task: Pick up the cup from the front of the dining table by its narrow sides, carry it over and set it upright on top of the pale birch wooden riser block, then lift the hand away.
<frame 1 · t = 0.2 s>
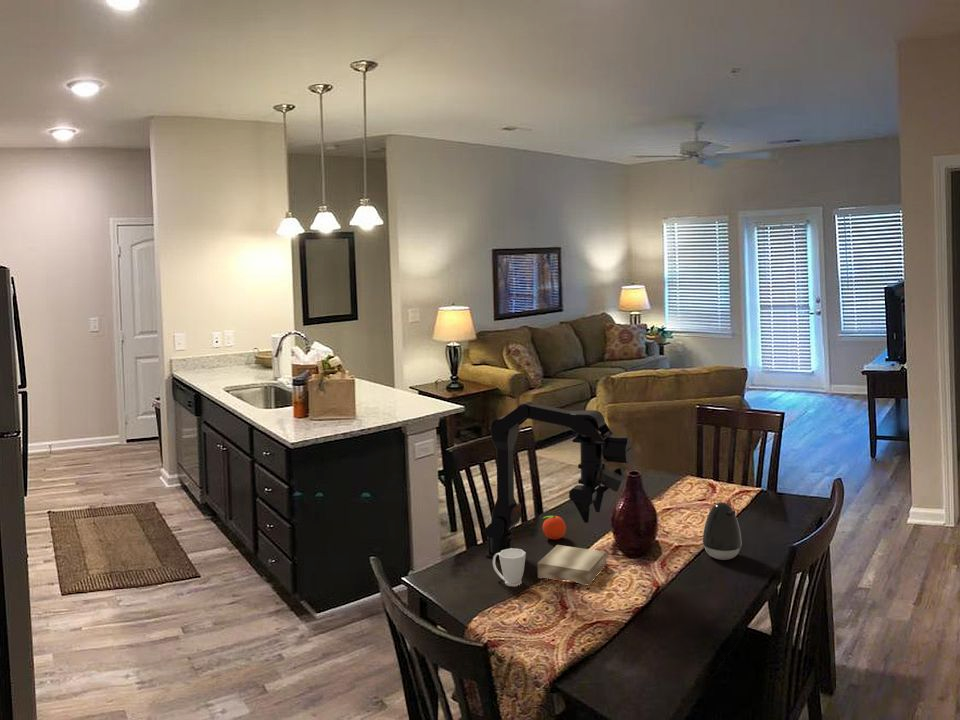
hand: (592, 517, 209), 14 cm above the table, tool pointing down, fingers open, 9 cm apart
cup: (508, 582, 205), on the table
clementine: (552, 539, 235), on the table
grey egg-shaped figure: (722, 557, 217), on the table
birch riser: (572, 571, 210), on the table
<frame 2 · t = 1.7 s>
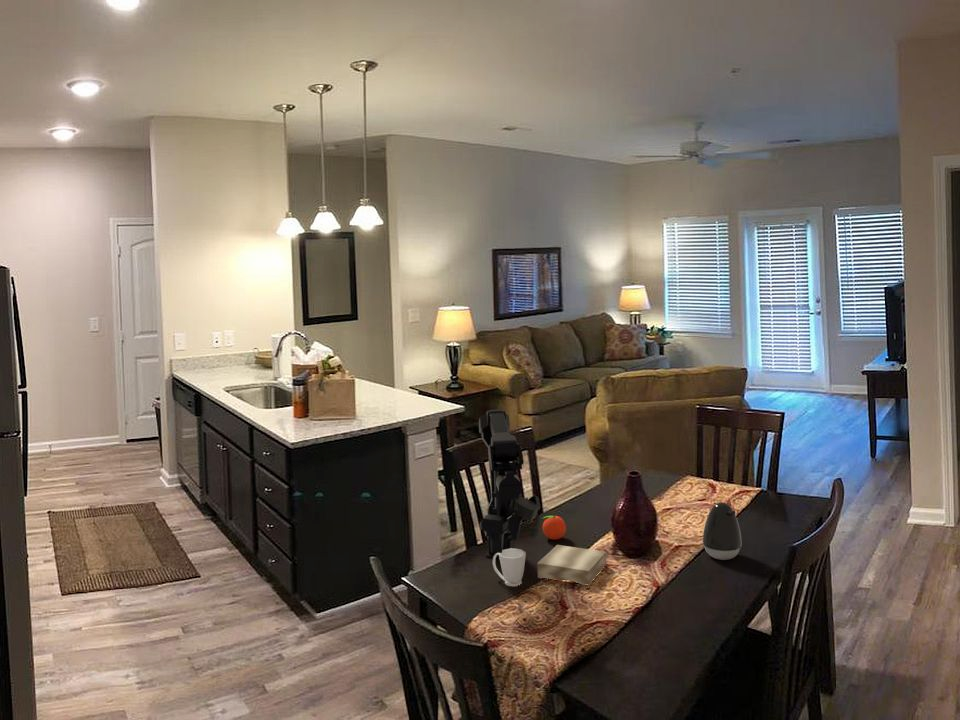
hand: (507, 546, 204), 9 cm above the table, tool pointing down, fingers open, 9 cm apart
nothing on the table moved.
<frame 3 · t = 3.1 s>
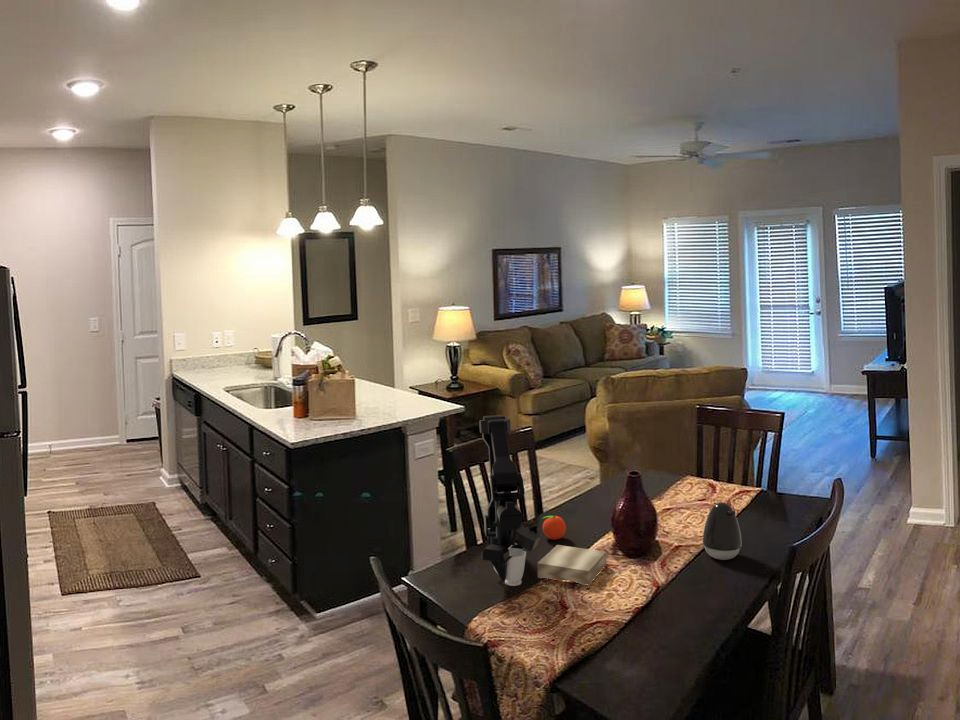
hand: (508, 575, 205), 2 cm above the table, tool pointing down, fingers closed on cup, 6 cm apart
cup: (508, 582, 205), on the table, touching gripper
everything else where it was.
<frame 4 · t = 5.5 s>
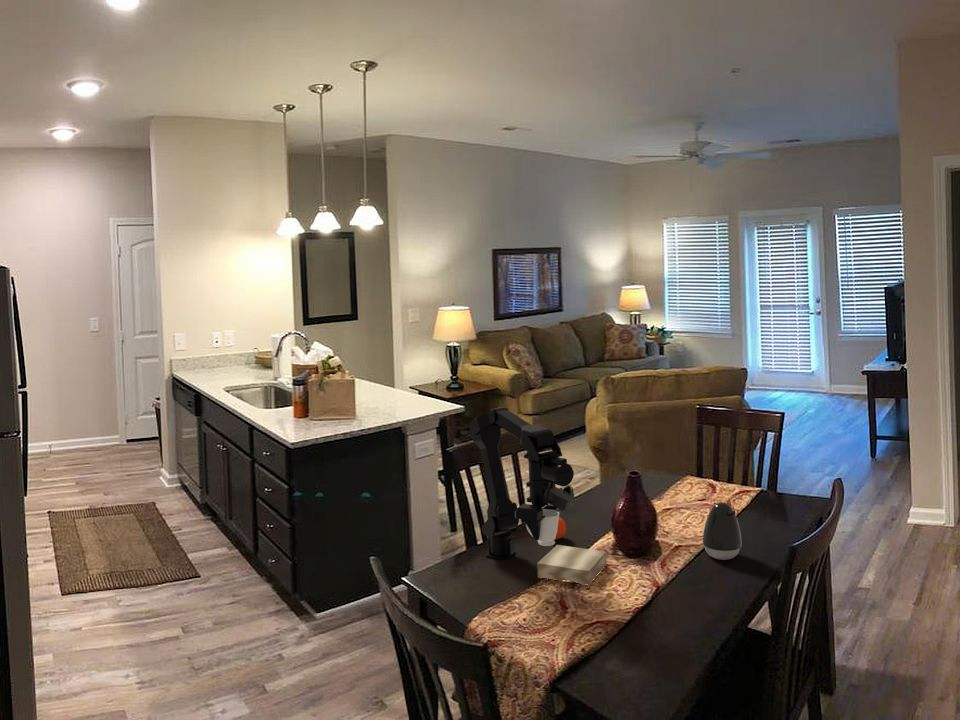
hand: (541, 536, 206), 11 cm above the table, tool pointing down, fingers closed on cup, 6 cm apart
cup: (542, 542, 207), point 9 cm above the table, touching gripper
everything else where it was.
when the fingers open (7 cm above the table, at t = 7.5 s): cup drops 2 cm, resting on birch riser.
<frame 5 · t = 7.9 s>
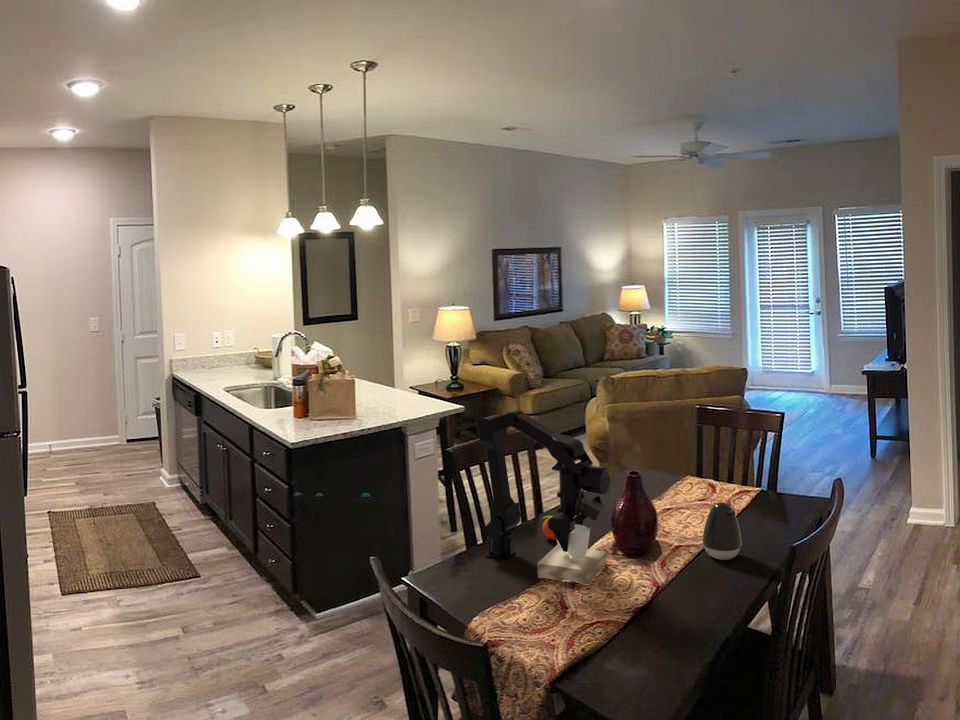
hand: (571, 545, 209), 7 cm above the table, tool pointing down, fingers open, 9 cm apart
cup: (573, 557, 210), point 4 cm above the table, touching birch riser
everything else where it was.
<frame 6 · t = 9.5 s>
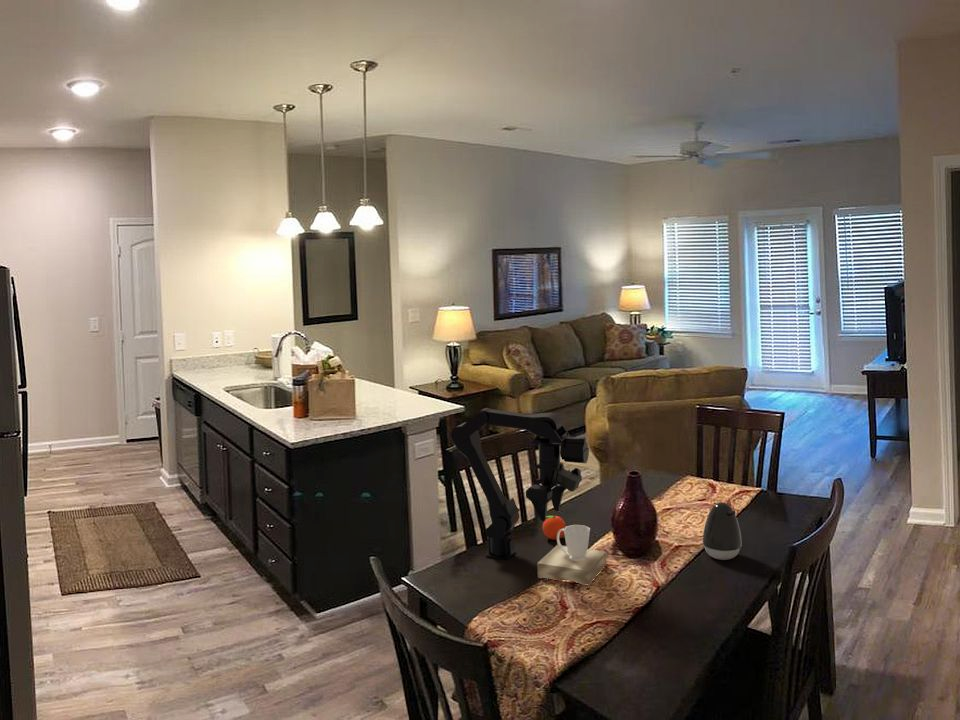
hand: (550, 515, 217), 13 cm above the table, tool pointing down, fingers open, 9 cm apart
nothing on the table moved.
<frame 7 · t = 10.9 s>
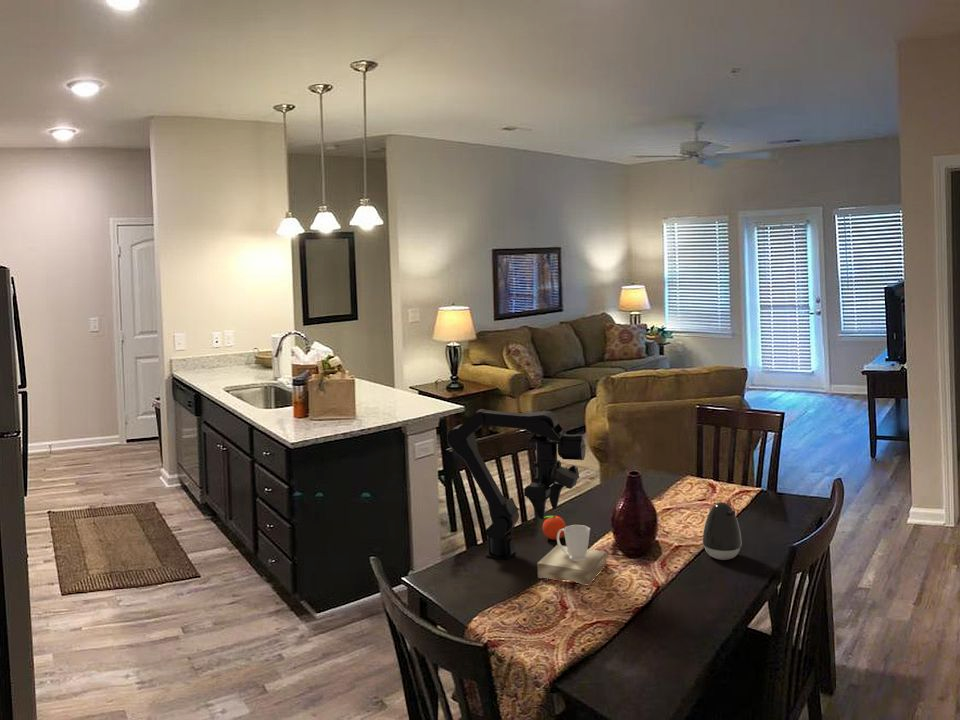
hand: (548, 513, 218), 13 cm above the table, tool pointing down, fingers open, 9 cm apart
nothing on the table moved.
at the end: cup inside the target area on the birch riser (0.4 cm from its centre), point 3.8 cm above the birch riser's base; cup tilted 0°; the gripper is holding nothing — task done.
